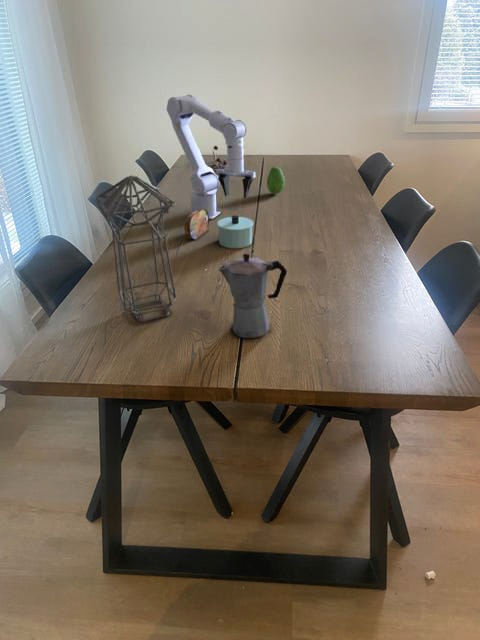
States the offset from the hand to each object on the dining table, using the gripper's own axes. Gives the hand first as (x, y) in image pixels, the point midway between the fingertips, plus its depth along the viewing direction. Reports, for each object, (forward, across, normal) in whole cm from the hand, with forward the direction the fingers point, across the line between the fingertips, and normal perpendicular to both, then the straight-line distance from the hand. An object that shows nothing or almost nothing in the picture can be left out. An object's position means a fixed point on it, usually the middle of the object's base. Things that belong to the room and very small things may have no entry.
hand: (236, 196), depth 168 cm
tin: (+10, -9, -16) cm, 21 cm away
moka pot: (+11, +32, -66) cm, 74 cm away
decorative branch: (+10, -42, +76) cm, 88 cm away
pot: (+11, +6, -17) cm, 21 cm away
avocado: (+4, +2, +40) cm, 40 cm away
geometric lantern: (+11, +4, -68) cm, 69 cm away
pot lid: (+4, +7, -17) cm, 19 cm away
